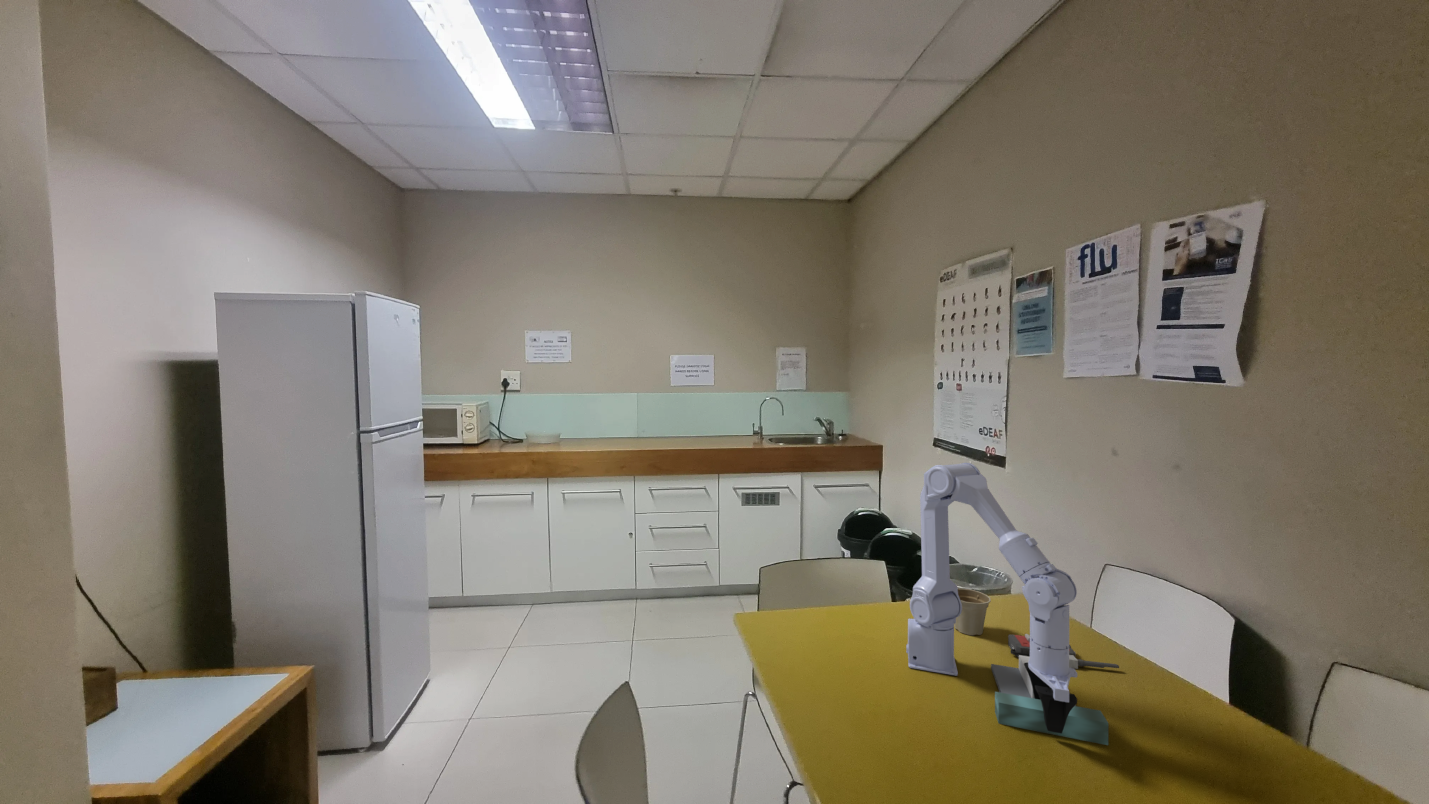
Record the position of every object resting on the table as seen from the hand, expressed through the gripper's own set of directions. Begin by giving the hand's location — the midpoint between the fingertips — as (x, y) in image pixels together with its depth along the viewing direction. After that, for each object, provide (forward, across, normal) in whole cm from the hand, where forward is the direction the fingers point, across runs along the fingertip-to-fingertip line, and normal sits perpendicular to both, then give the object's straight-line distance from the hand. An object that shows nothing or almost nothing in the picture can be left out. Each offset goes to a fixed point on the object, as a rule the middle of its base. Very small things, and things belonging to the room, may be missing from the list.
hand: (1048, 719), depth 87 cm
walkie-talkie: (+2, +28, -9) cm, 29 cm away
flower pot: (+2, +36, +8) cm, 37 cm away
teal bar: (+2, 0, 0) cm, 2 cm away
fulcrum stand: (+1, +12, 0) cm, 12 cm away
